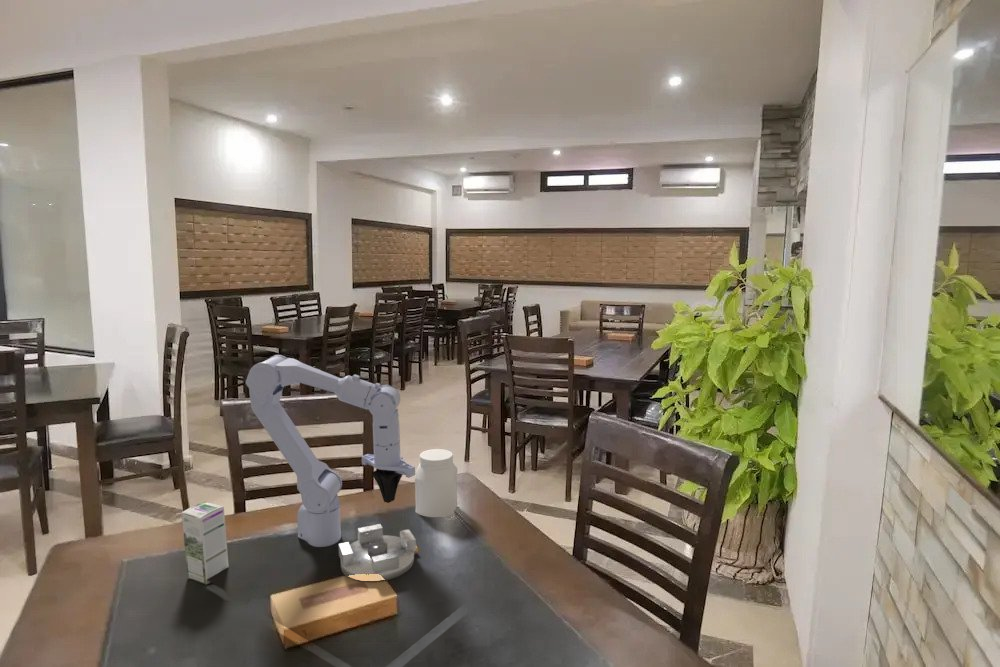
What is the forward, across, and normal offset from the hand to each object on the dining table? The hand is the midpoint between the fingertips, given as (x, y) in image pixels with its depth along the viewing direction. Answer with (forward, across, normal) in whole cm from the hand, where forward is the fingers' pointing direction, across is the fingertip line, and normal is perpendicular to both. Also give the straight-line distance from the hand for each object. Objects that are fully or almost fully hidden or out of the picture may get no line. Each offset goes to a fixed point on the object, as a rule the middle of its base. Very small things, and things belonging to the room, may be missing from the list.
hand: (389, 500), depth 132 cm
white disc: (+9, -4, +8) cm, 13 cm away
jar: (+11, +2, -19) cm, 22 cm away
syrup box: (+10, +22, +30) cm, 38 cm away
